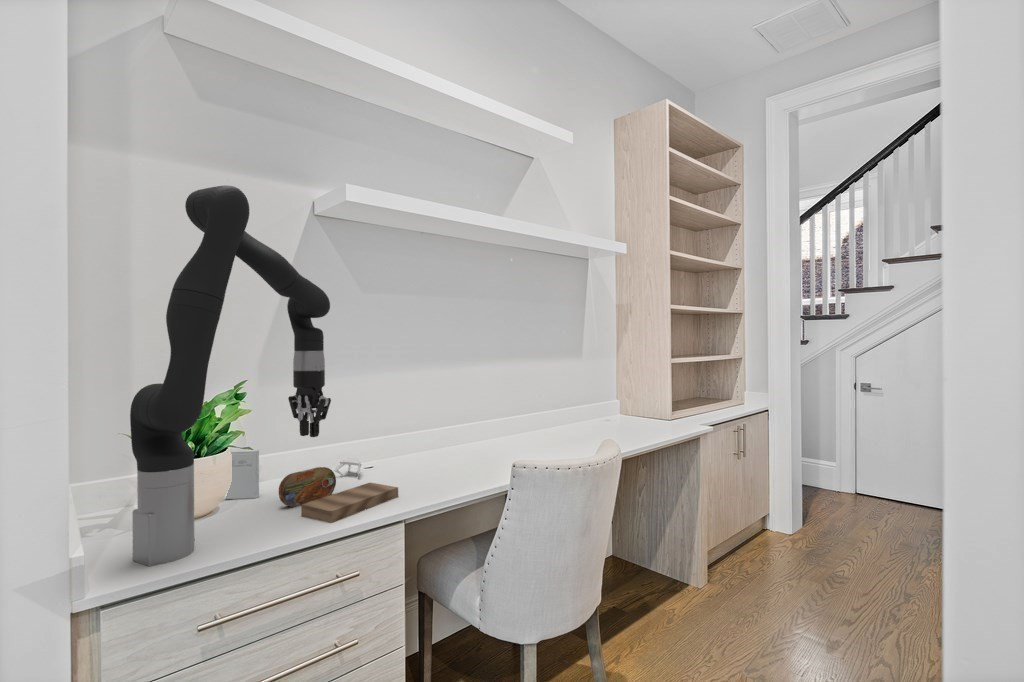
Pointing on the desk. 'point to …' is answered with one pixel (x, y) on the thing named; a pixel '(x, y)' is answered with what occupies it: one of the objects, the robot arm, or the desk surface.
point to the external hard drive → (244, 475)
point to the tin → (307, 486)
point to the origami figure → (350, 462)
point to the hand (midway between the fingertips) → (309, 435)
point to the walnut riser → (348, 502)
